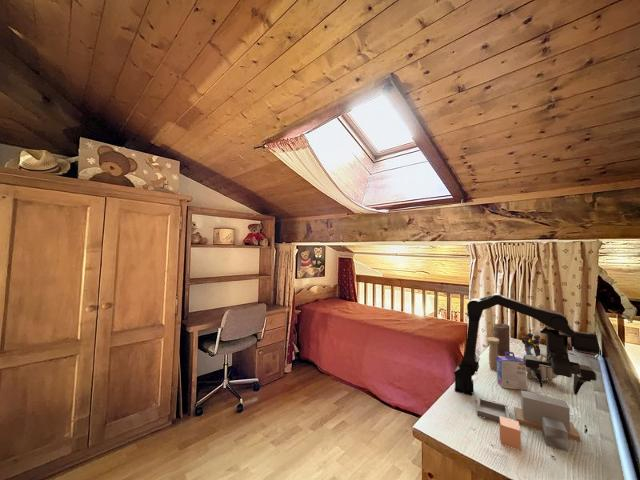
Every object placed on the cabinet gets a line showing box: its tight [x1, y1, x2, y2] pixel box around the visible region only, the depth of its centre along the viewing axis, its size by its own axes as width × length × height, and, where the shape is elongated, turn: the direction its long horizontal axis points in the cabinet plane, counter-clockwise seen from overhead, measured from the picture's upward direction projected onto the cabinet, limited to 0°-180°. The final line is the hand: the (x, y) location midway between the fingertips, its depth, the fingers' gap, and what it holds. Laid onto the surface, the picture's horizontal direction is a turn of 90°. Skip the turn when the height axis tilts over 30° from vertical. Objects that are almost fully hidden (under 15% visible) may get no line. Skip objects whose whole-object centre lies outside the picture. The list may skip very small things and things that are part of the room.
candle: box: [492, 323, 511, 356], centre depth 138 cm, size 8×7×20 cm
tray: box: [476, 396, 511, 424], centre depth 95 cm, size 10×10×2 cm
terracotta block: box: [499, 416, 522, 451], centre depth 81 cm, size 5×5×6 cm
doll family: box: [521, 332, 542, 357], centre depth 144 cm, size 23×9×13 cm, turn 144°
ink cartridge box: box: [496, 351, 528, 391], centre depth 114 cm, size 10×6×14 cm, turn 78°
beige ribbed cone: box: [522, 354, 559, 386], centre depth 119 cm, size 11×17×11 cm, turn 47°
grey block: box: [542, 417, 569, 453], centre depth 81 cm, size 5×5×6 cm
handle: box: [486, 336, 499, 371], centre depth 130 cm, size 5×6×15 cm
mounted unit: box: [513, 390, 581, 443], centre depth 89 cm, size 16×8×9 cm, turn 58°
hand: (557, 390), depth 92 cm, fingers open, 9 cm apart
